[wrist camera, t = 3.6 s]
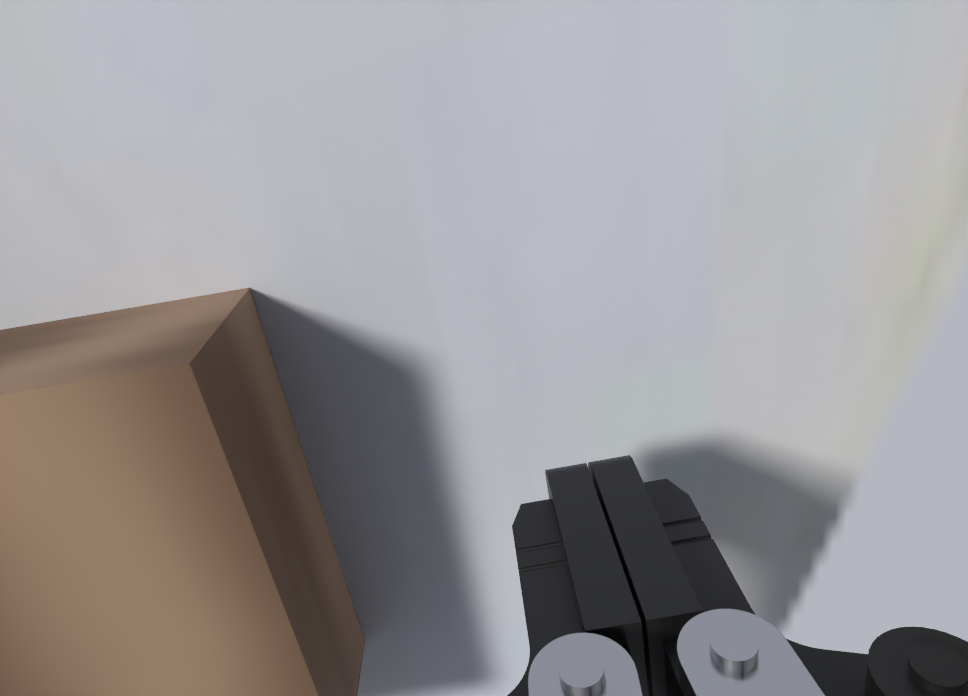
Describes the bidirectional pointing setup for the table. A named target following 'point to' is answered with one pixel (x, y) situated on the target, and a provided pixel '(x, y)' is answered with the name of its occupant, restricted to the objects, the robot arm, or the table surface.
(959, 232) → the table surface
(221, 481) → the brown block
